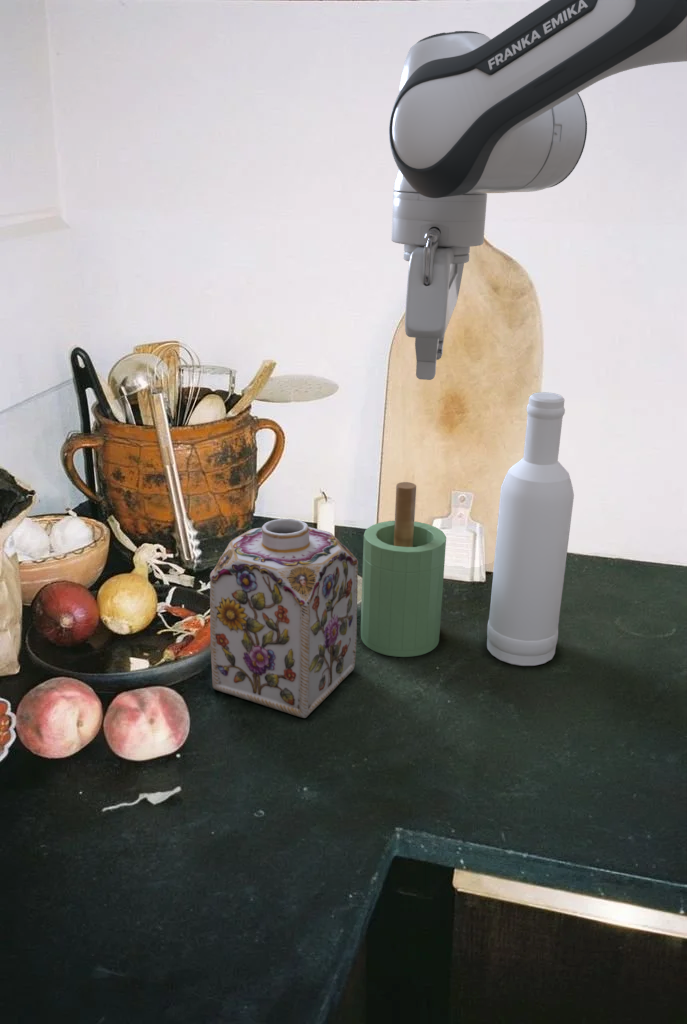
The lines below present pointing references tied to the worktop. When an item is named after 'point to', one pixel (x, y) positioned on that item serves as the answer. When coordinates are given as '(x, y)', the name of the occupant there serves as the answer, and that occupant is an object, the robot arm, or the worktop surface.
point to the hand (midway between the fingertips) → (429, 367)
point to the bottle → (531, 542)
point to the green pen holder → (402, 590)
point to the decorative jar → (283, 616)
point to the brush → (404, 514)
